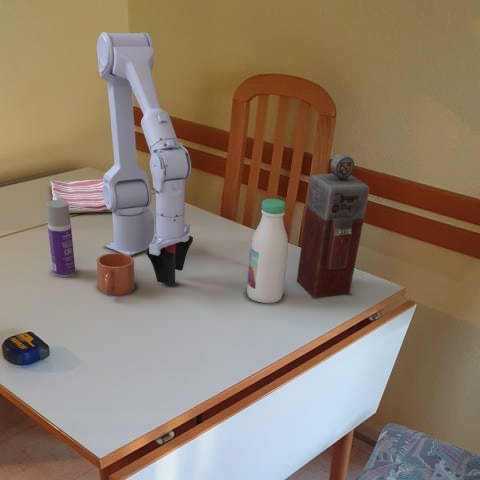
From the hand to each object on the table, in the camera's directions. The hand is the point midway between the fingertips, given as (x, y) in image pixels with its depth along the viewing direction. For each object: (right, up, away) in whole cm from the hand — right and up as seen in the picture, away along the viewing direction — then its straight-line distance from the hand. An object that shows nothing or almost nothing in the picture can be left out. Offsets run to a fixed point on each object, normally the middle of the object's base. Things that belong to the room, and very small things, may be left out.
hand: (170, 275), depth 134 cm
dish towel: (-28, +30, +39) cm, 57 cm away
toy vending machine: (+34, -2, +5) cm, 34 cm away
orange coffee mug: (-11, -4, -3) cm, 12 cm away
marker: (0, -2, +1) cm, 2 cm away
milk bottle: (+20, -5, 0) cm, 21 cm away
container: (-23, +1, +2) cm, 23 cm away
